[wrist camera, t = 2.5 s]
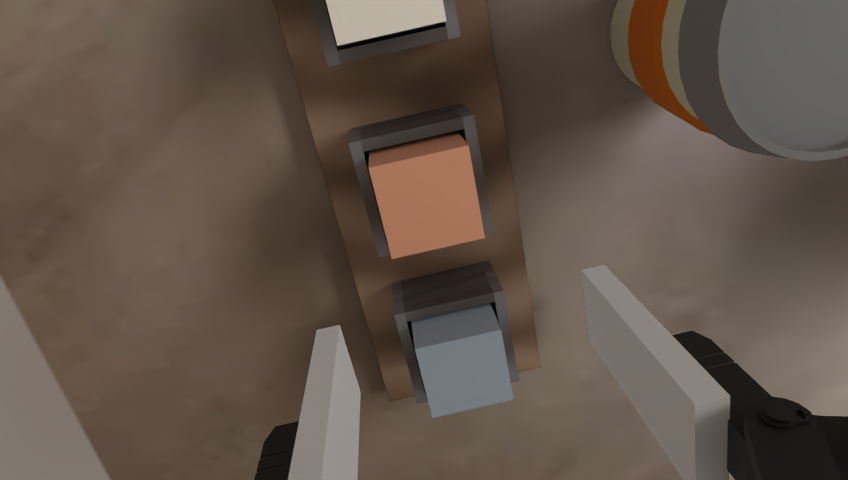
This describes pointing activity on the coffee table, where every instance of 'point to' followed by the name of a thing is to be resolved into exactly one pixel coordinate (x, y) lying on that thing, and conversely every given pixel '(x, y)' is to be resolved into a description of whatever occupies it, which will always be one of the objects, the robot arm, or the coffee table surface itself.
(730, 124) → the reusable coffee cup
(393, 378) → the console
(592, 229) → the coffee table surface
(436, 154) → the terracotta button
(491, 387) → the slate button
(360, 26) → the cream button
